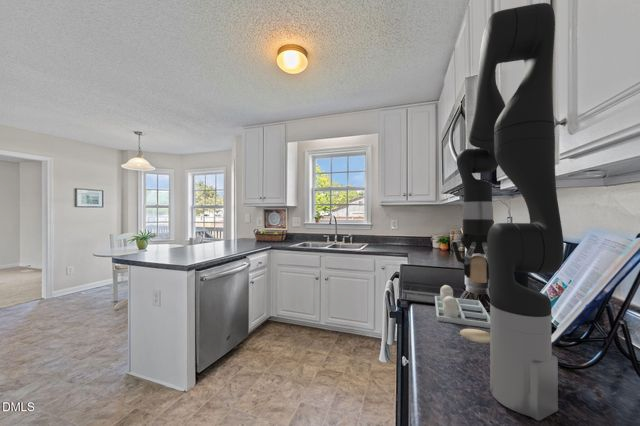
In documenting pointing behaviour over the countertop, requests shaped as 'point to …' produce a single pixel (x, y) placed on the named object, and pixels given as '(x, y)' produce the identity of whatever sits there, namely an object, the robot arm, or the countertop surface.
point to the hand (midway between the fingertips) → (477, 277)
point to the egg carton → (466, 305)
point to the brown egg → (478, 269)
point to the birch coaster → (476, 335)
